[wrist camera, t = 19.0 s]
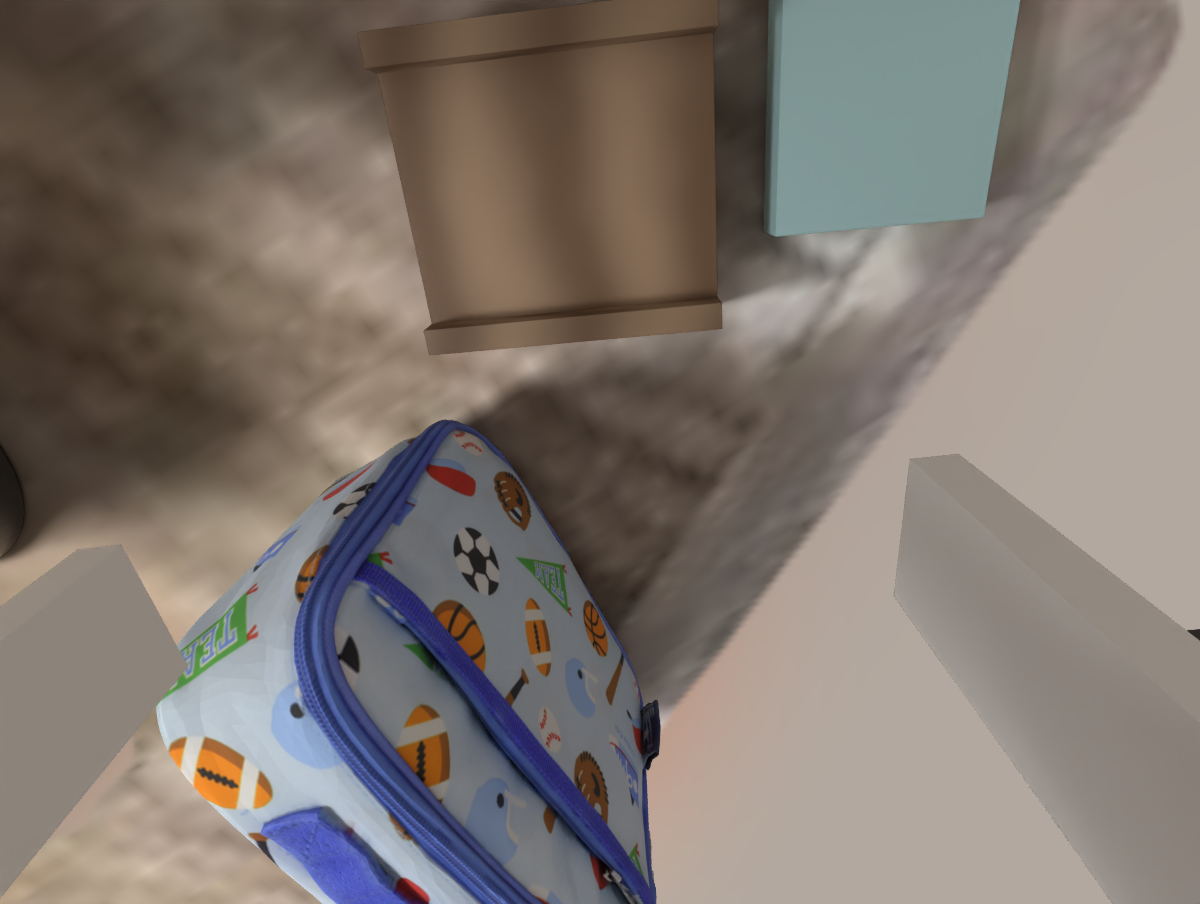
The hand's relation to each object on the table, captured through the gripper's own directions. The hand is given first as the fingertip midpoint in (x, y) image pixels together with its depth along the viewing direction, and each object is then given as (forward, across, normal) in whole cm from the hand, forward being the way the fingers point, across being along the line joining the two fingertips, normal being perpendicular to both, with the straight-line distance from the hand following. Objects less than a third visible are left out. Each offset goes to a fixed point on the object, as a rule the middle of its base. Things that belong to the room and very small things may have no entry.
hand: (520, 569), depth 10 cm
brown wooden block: (+24, 0, +5) cm, 25 cm away
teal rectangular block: (+24, +15, +9) cm, 30 cm away
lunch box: (+25, -6, -19) cm, 32 cm away
